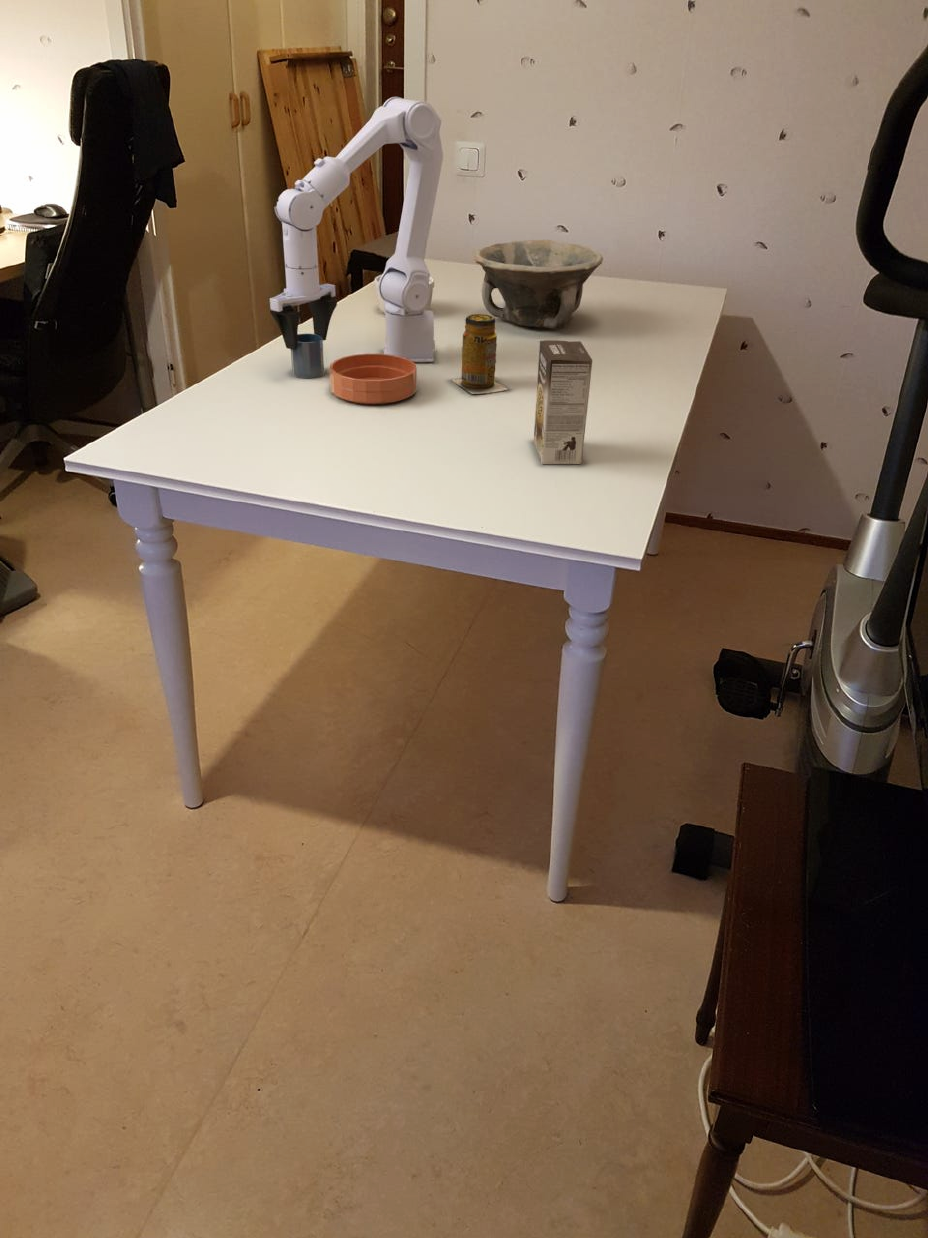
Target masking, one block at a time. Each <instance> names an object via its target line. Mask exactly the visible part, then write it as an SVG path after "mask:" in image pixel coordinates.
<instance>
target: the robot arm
mask: <svg viewBox="0 0 928 1238" xmlns="http://www.w3.org/2000/svg"><path fill="white" fill-rule="evenodd" d="M441 125H442V120H441V118H440V115H439V114H438V113H437V111H436V109H435V108H434V107H433V105H432V104H430V103H429V102H427V101H426V100H413V99H406V98H403V97H400V96H392V97H390V98H388V99H387V100H385V102H383V104H382V105H381V106H379V107H378V108H376V109H375V110H374V112H373V114H372V116H371V118H370V119H369V120H368V121H367V122H366V123H365V125H364V126H363V127H362V128H361V129H360V130H359V131H358V132H357V133H356V134H355V136H353V137H352V139H351V140H350V141H349V142H348V143H347V144H346V145H345V147H344V148H343V149H342V150H341V151H339V153H338V154H337V156H335V157H333V156H325V157H323V158H319V157H318V158H317V159H316V160H315V161H314V162H313V164H314V167H313V168H312V169H311V170H310V171H309V172H308V173H307V174H306V175H305V176H304V177H303V178H301V179H297V180H296V181H295V182H294V188H290V189H289V188H288V189H285V190H284V191H282V193H281V194H280V195H279V196H278V198H277V200H278V201H276V206H274V212H275V215H276V217H277V219H278V220H279V222H281V225H282V228H281V229H282V241H283V242H282V243H283V256H284V271H285V284H286V285H285V286H286V287H285V288H283V292H281V293H280V294H277V295H276V296H273V297H270V298H269V305H270V306H269V307H270V308H269V312H270V314H271V316H272V317H273V319H274V321H275V322H276V324H277V326H278V329H279V331H280V333H281V336H282V338H283V342H284V345H285V348H286V349H287V350H291V349H292V350H296V349H297V345H298V334H299V333H298V330H299V322H300V318H301V315H302V313H301V312H299V311H297V310H295V309H294V308H293V307H296V306H299V305H303V304H306V303H308V306H309V310H310V313H311V317H312V327H313V334H317V335H320V336H322V337H323V342H324V341H326V340H327V336H328V331H329V327H330V322H331V319H332V316H333V314H334V311H335V309H336V308H337V306H338V299H336V298H333V297H336V285H335V284H330V283H323V284H320V275H319V274H320V272H319V255H318V253H319V252H318V237H317V226H318V225H320V223H321V221H322V218H323V213H324V210H325V209H326V208H327V207H329V205H330V204H332V203H333V202H334V200H335V199H337V197H338V196H339V195H341V194H342V193H343V192H344V191H345V190H346V189H347V188H348V187H349V185H350V179H351V174H352V173H353V172H354V171H355V170H356V169H358V168H359V167H360V166H361V165H362V164H364V162H365V161H367V159H369V158H370V157H371V156H372V155H373V154H375V153H376V152H377V151H378V150H379V149H380V148H382V147H383V146H384V145H387V144H398V145H399V146H400V147H401V148H402V150H403V152H404V154H406V156H407V158H408V159H409V162H410V166H409V171H408V177H407V182H406V189H405V192H404V193H405V194H404V198H403V205H402V212H401V217H400V223H399V229H398V234H397V239H396V246H395V252H394V254H392V256H390V257H389V258H388V260H387V261H386V263H385V267H384V270H383V273H382V274H381V275H382V276H381V278H380V280H379V283H378V291H379V294H380V296H381V298H382V299H383V300H384V301H385V314H384V315H385V316H384V317H385V319H384V322H385V324H384V325H385V347H384V348H383V354H390V355H396V356H400V357H404V358H406V359H409V360H411V361H413V362H414V363H434V361H435V358H434V355H435V354H434V353H435V350H436V340H435V315H434V311H433V310H424V309H425V308H426V306H427V305H428V303H429V300H430V288H429V278H430V277H431V273H430V270H429V268H428V266H427V264H426V262H425V257H426V250H427V245H428V241H429V235H430V230H431V224H432V219H433V213H434V208H435V202H436V197H437V192H438V187H439V181H440V177H441V172H442V171H441V170H442V165H443V160H444V152H443V148H442V147H443V145H442V140H441V134H440V130H441Z"/></svg>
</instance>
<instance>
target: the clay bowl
mask: <svg viewBox="0 0 928 1238" xmlns="http://www.w3.org/2000/svg"><path fill="white" fill-rule="evenodd" d="M417 372H418V369H417V364H416V362H413V361H411V360H409V359H406V358H404V357H400V356H396V355H390V354H384V353H371V352H370V353H357V354H352V355H351V354H350V355H347V356H342V357H340V358H338V359H336V360H333V362H331V363H330V364H329V381H330V382H329V383H330V392H331V393H332V394H333V395H334V396H336V397H338V398H340V399H342V400H345V401H348V402H351V403H355V404H363V405H386V404H387V405H388V404H392V403H397V402H400V401H403V400H405V399H408V398H410V397H412V396H413V395H414V394H415V393H416V392H417V391H418V387H417V386H418V380H417V379H418V375H417V374H418V373H417Z"/></svg>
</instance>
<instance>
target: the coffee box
mask: <svg viewBox="0 0 928 1238" xmlns="http://www.w3.org/2000/svg"><path fill="white" fill-rule="evenodd" d="M538 351H539V353H538V369H537V383H536V384H537V385H536V400H535V411H534V412H535V413H534V414H535V415H534V430H533V443H534V446H535V449H536V451H537V455H538V457H539V460H540V463H541V465H581V464H582V462H583V461H582V459H583V451H584V441H585V433H586V424H587V418H588V417H587V416H588V407H589V397H590V390H591V389H590V388H591V379H592V370H593V369H592V368H593V359H592V357H591V355H590V354H589V353H588V350H587V349H586V347H585V345H583V342H581V341H580V340H577V341H576V340H573V341H571V340H570V341H567V340H558V339H557V340H553V339H552V340H548V339H547V340H545V339H544V340H540V341H539V350H538Z"/></svg>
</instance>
